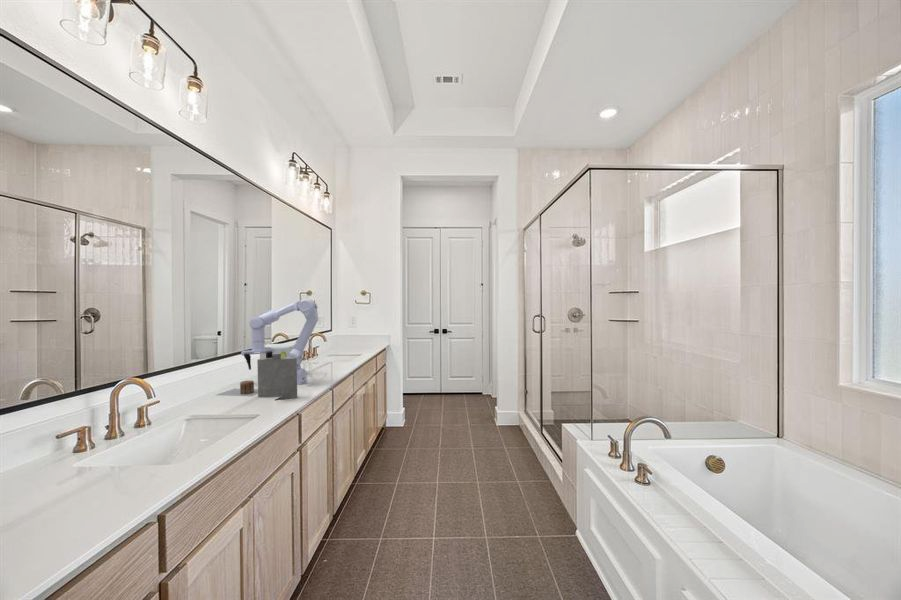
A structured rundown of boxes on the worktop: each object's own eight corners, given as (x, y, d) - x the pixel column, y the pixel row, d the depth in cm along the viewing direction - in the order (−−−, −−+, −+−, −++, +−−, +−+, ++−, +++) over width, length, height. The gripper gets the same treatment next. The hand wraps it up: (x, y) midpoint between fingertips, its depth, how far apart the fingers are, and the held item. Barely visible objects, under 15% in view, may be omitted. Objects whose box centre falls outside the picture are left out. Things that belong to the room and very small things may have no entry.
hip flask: (298, 396, 163) (297, 351, 163) (295, 399, 159) (295, 353, 159) (259, 399, 160) (258, 353, 160) (256, 401, 156) (255, 354, 156)
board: (269, 392, 171) (269, 389, 171) (251, 399, 159) (251, 396, 159) (234, 391, 174) (234, 388, 174) (214, 398, 162) (214, 395, 162)
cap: (246, 391, 168) (245, 380, 168) (256, 391, 167) (256, 380, 167) (237, 394, 163) (237, 382, 163) (248, 394, 162) (248, 383, 162)
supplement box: (259, 379, 201) (258, 346, 201) (268, 374, 214) (268, 343, 214) (291, 378, 203) (291, 345, 203) (299, 373, 216) (299, 343, 216)
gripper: (242, 342, 175) (242, 371, 175) (275, 340, 183) (276, 367, 183) (240, 341, 180) (241, 369, 180) (273, 339, 189) (273, 365, 189)
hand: (258, 368), depth 182 cm, fingers open, 7 cm apart
